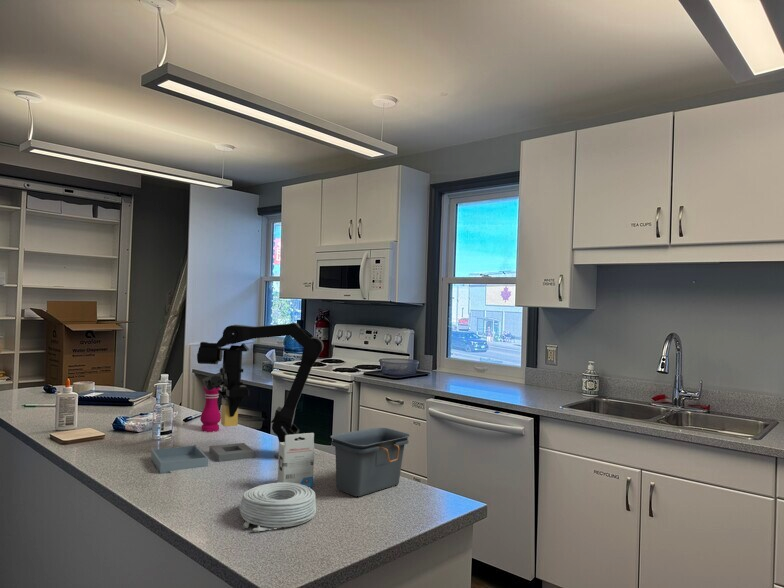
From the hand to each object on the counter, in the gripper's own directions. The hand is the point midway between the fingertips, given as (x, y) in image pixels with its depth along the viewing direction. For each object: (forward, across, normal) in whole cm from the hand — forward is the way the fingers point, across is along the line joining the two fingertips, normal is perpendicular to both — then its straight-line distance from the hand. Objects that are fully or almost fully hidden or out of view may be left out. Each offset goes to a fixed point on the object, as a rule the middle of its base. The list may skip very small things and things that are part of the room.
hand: (229, 415), depth 175 cm
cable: (+14, +51, -3) cm, 53 cm away
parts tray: (+13, +1, -15) cm, 20 cm away
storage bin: (+13, +44, +27) cm, 53 cm away
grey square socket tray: (+13, 0, +1) cm, 13 cm away
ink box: (+13, +34, +8) cm, 37 cm away
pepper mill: (+13, -37, +4) cm, 40 cm away
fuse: (+3, 0, 0) cm, 3 cm away
